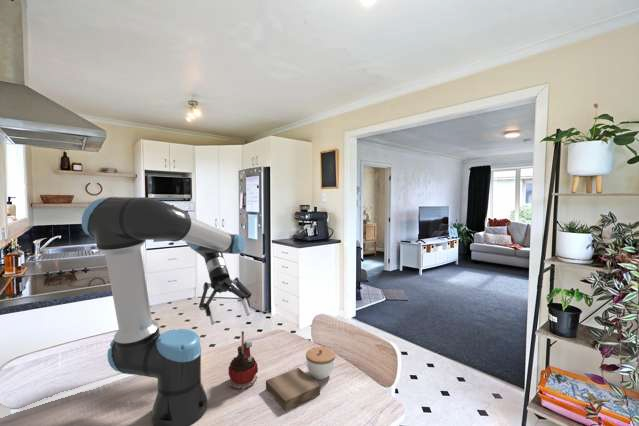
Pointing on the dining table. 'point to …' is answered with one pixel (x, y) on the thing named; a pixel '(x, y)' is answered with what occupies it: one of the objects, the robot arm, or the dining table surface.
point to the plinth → (292, 388)
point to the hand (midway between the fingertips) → (231, 318)
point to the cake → (243, 367)
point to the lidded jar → (320, 362)
